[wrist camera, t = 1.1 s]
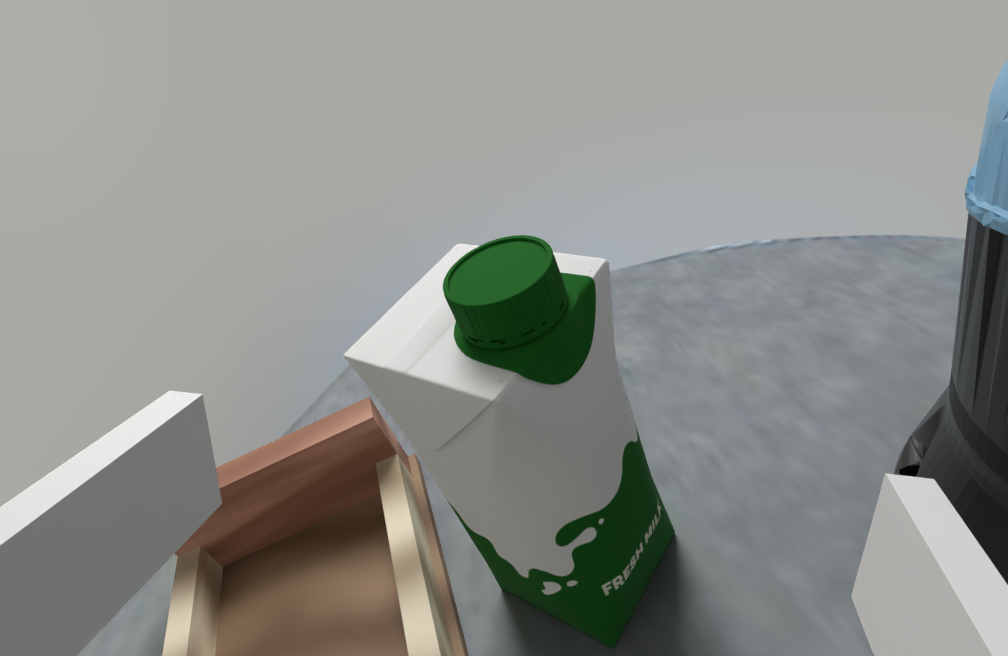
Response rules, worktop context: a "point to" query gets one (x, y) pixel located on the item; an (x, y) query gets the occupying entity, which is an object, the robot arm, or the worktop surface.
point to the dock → (317, 553)
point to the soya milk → (526, 424)
